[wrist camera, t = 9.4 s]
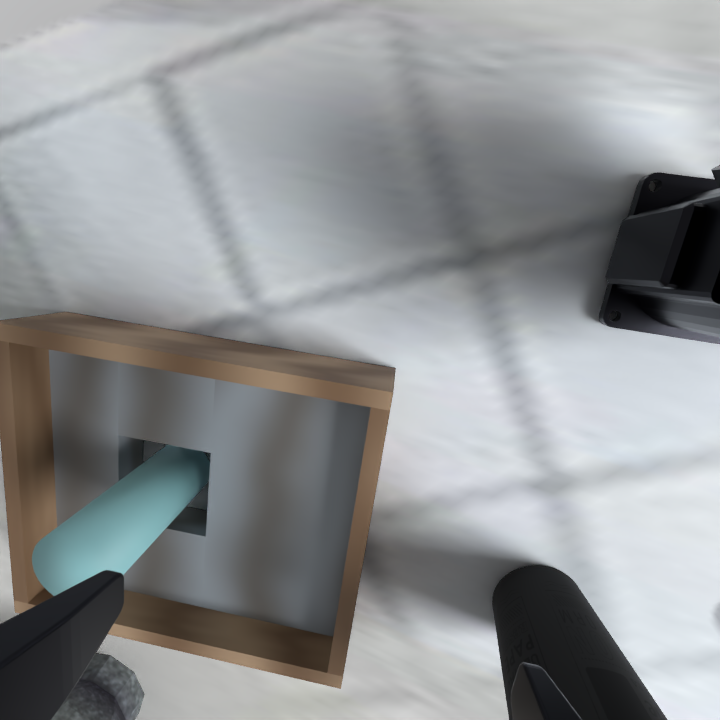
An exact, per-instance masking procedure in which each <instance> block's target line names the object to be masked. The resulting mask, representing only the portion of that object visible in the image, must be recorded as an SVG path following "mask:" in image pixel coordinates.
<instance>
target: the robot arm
mask: <svg viewBox="0 0 720 720" xmlns="http://www.w3.org/2000/svg"><path fill="white" fill-rule="evenodd" d="M712 173H713V175H714V178H715V180H713V179H705V178H698V177H690V176H682V175H674V174H666V173H653V174H650V175H648V176H645V177H643V178H642V179H641V180H640V181H639V183H638V185H637V188H636V192H635V195H634V198H633V202H632V205H631V209H630V212H629V215H628V218H626V219H625V220H623V221H622V223H621V226H620V230H619V233H618V236H617V240H616V243H615V247H614V250H613V253H612V257H611V260H610V264H609V267H608V270H607V274H606V279H607V281H608V286H607V289H606V293H605V296H604V299H603V303H602V306H601V310H600V313H599V319H600V322H601V323H602V324H604V325H606V326H609V327H614V328H620V329H627V330H633V331H639V332H646V333H652V334H659V335H665V336H671V337H678V338H684V339H690V340H697V341H703V342H709V343H716V344H720V165H719V166H717V167H715V168H713V169H712ZM651 181H653V182H655V184H656V189H655V190H654V192H652V191H650V190H649V183H650V182H651ZM612 311H615V312H616V318H615V319H614V320H612V321H610V319H609V315H610V313H611V312H612ZM123 604H124V576H123V574H122V573H119V572H115V571H110V570H104V571H102V572H100V573H98V574H96V575H94V576H92V577H90V578H88V579H86V580H84V581H82V582H80V583H78V584H76V585H74V586H73V587H71V588H69V589H67V590H65V591H63V592H61V593H59V594H57V595H55V596H53V597H51V598H49V599H47V600H46V601H44V602H42V603H40V604H38V605H36V606H34V607H32V608H30V609H28V610H26V611H24V612H22V613H21V614H19V615H17V616H15V617H13V618H11V619H9V620H7V621H5V622H3V623H1V624H0V720H51V719H52V718H53V717H54V715H55V714H56V713H57V711H58V710H59V708H60V707H61V706H62V704H63V703H64V702H65V700H66V699H67V697H68V696H69V694H70V693H71V692H72V690H73V689H74V687H75V686H76V684H77V683H78V681H79V679H80V678H81V676H82V675H83V673H84V671H85V670H86V668H87V667H88V665H89V663H90V662H91V660H92V658H93V657H94V655H95V653H96V652H97V650H98V649H99V647H100V645H101V644H102V642H103V640H104V639H105V637H106V636H107V634H108V632H109V631H110V629H111V627H112V626H113V624H114V623H115V621H116V619H117V618H118V616H119V614H120V612H121V610H122V608H123ZM511 708H512V716H513V720H582V719H581V718H580V716H579V715H578V714H577V712H576V711H575V710H574V708H573V707H572V706H571V704H570V703H569V702H568V700H567V699H566V698H565V697H564V695H563V694H562V693H561V691H560V690H559V689H558V687H557V686H556V685H555V683H554V682H553V681H552V679H551V678H550V677H549V675H548V674H547V673H546V671H545V670H544V669H543V668H542V667H540V666H538V665H534V664H530V663H525V662H522V663H521V664H520V665H519V668H518V671H517V674H516V677H515V680H514V683H513V687H512V690H511Z"/></svg>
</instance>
